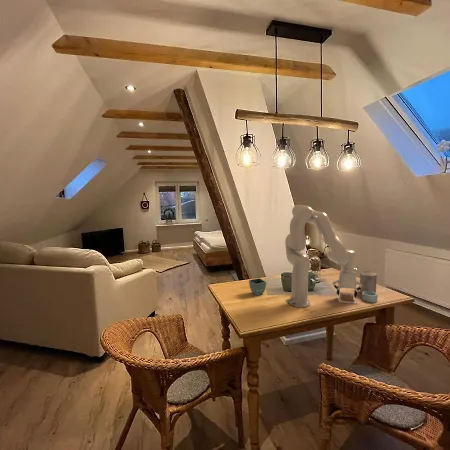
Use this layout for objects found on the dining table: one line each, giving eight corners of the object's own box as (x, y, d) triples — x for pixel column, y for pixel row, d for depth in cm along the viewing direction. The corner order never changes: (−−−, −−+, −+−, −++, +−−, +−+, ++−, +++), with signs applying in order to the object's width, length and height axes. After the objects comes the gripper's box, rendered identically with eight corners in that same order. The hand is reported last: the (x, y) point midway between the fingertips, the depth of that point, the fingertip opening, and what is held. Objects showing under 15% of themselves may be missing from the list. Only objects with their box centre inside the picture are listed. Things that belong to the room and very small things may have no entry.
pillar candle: (364, 289, 193) (365, 268, 191) (378, 293, 185) (379, 271, 183) (356, 292, 188) (357, 270, 185) (370, 297, 179) (371, 274, 177)
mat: (356, 304, 169) (356, 303, 169) (339, 302, 172) (339, 301, 172) (353, 296, 181) (353, 295, 181) (337, 295, 184) (337, 294, 184)
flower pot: (255, 297, 183) (255, 284, 182) (248, 292, 191) (248, 280, 190) (266, 294, 187) (266, 281, 185) (259, 290, 195) (259, 278, 193)
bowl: (371, 303, 169) (371, 296, 169) (359, 299, 176) (359, 292, 176) (379, 301, 173) (380, 294, 173) (367, 296, 180) (368, 289, 180)
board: (353, 301, 172) (353, 296, 172) (341, 300, 174) (341, 295, 174) (351, 297, 179) (352, 292, 178) (340, 296, 181) (340, 291, 180)
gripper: (362, 269, 175) (360, 295, 177) (332, 267, 180) (331, 292, 182) (364, 272, 168) (362, 299, 170) (333, 270, 173) (332, 297, 175)
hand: (346, 296), depth 176 cm, fingers open, 9 cm apart
